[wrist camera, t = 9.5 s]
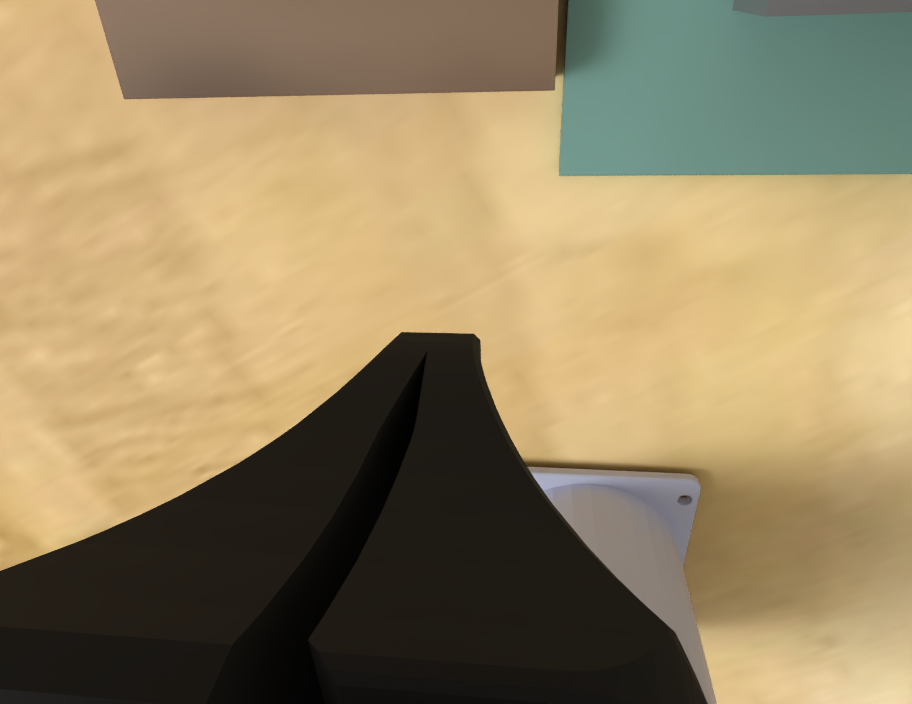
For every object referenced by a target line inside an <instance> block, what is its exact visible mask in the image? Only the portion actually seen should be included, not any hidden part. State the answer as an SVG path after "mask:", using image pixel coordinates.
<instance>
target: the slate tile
mask: <svg viewBox="0 0 912 704" xmlns="http://www.w3.org/2000/svg"><path fill="white" fill-rule="evenodd" d="M732 10H734V11H739V12H744V13H749V14H754V15H759V16H763V17H777V16H807V15H838V14H869V13H900V12H912V0H734V4H733V9H732Z"/></svg>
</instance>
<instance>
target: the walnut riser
mask: <svg viewBox="0 0 912 704" xmlns="http://www.w3.org/2000/svg"><path fill="white" fill-rule="evenodd" d="M95 2H96V5H97V9H98V12H99V16H100V19H101V22H102V26H103V29H104V32H105V36H106V39H107V43H108V46H109V49H110V53H111V56H112V60H113V63H114V66H115V70H116V73H117V77H118V80H119V83H120V87H121V90H122V93H123V97H124V99H158V98H207V97H256V96H305V95H353V94H402V93H451V92H500V91H549V90H555V72H556V49H557V27H558V4H559V0H95Z"/></svg>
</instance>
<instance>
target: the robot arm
mask: <svg viewBox="0 0 912 704" xmlns="http://www.w3.org/2000/svg"><path fill="white" fill-rule="evenodd" d="M700 491H701V486H700V483H699V480H698V479H697V477H695V476H694V475H691V474H683V473H661V472H638V471H615V470H593V469H570V468H547V467H527V466H526V464H525V462H524V461H523V459H522V458H521V456H520V454H519V452H518V451H517V449H516V447H515V445H514V443H513V442H512V440H511V438H510V436H509V434H508V432H507V430H506V428H505V426H504V424H503V422H502V420H501V418H500V415H499V413H498V411H497V409H496V406H495V404H494V401H493V398H492V396H491V393H490V391H489V388H488V385H487V382H486V379H485V376H484V372H483V368H482V364H481V345H480V339H479V338H478V337H476V336H475V335H474V334H458V333H411V332H401V333H400V334H399V335H398V336H397V337H396V338H395V339H394V340H393V341H392V342H390V343H389V344H388V345H387V346H386V347H385V348H384V349H383V350H382V351H381V352H380V353H379V354H378V355H377V356H376V357H375V358H374V359H373V360H371V361H370V362H369V363H368V364H367V365H366V366H365V367H364V368H363V369H362V370H361V371H360V372H359V373H358V374H357V375H355V376H354V377H353V378H352V379H351V380H350V381H349V382H348V383H347V384H345V385H344V386H343V387H342V388H341V389H340V390H339V391H338V392H337V393H335V394H334V395H333V396H332V397H330V398H329V399H328V400H327V401H325V402H324V403H323V404H322V405H320V406H319V407H318V408H317V409H315V410H314V411H313V412H312V413H310V414H309V415H308V416H307V417H305V418H304V419H303V420H302V421H300V422H299V423H298V424H297V425H295V426H294V427H292V428H291V429H290V430H288V431H287V432H285V433H284V434H283V435H281V436H280V437H278V438H277V439H275V440H274V441H272V442H271V443H269V444H268V445H266V446H265V447H263V448H262V449H260V450H259V451H257V452H256V453H254V454H252V455H251V456H249V457H248V458H246V459H245V460H243V461H241V462H240V463H238V464H236V465H235V466H233V467H231V468H229V469H227V470H226V471H224V472H222V473H220V474H218V475H216V476H215V477H213V478H211V479H209V480H207V481H206V482H204V483H202V484H200V485H198V486H197V487H195V488H193V489H191V490H189V491H187V492H186V493H184V494H182V495H180V496H178V497H176V498H174V499H172V500H170V501H168V502H166V503H164V504H162V505H160V506H158V507H156V508H154V509H151V510H149V511H147V512H145V513H143V514H141V515H139V516H137V517H134V518H132V519H130V520H128V521H125V522H123V523H121V524H119V525H116V526H114V527H112V528H110V529H107V530H105V531H103V532H100V533H98V534H96V535H93V536H91V537H88V538H86V539H83V540H81V541H79V542H76V543H74V544H71V545H68V546H66V547H63V548H60V549H58V550H55V551H52V552H50V553H47V554H44V555H42V556H39V557H36V558H34V559H31V560H28V561H26V562H23V563H20V564H18V565H15V566H12V567H10V568H7V569H4V570H2V571H0V704H717V702H716V698H715V694H714V690H713V686H712V682H711V678H710V674H709V670H708V666H707V662H706V658H705V654H704V650H703V646H702V642H701V638H700V634H699V630H698V626H697V622H696V618H695V614H694V611H693V607H692V603H691V599H690V595H689V591H688V587H687V583H686V579H685V575H684V571H683V565H684V561H685V556H686V552H687V548H688V543H689V539H690V535H691V530H692V526H693V522H694V517H695V513H696V509H697V504H698V500H699V496H700ZM683 495H688V496H687V497H685V498H680V496H683Z"/></svg>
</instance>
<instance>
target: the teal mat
mask: <svg viewBox="0 0 912 704" xmlns="http://www.w3.org/2000/svg"><path fill="white" fill-rule="evenodd" d="M733 4H734V0H568V5H567V25H566V44H565V64H564V83H563V103H562V122H561V142H560V162H559V176H634V175H805V174H912V12H900V13H869V14H838V15H807V16H777V17H763V16H759V15H754V14H749V13H744V12H739V11H734V10H732V9H733Z"/></svg>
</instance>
